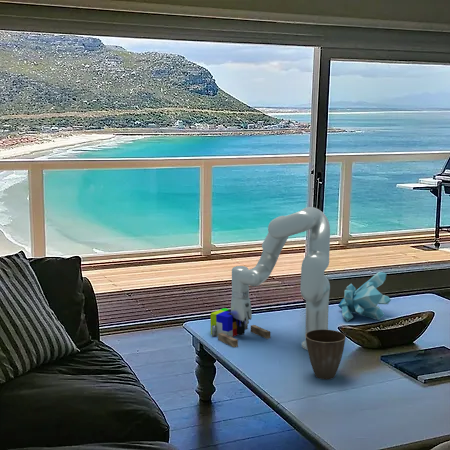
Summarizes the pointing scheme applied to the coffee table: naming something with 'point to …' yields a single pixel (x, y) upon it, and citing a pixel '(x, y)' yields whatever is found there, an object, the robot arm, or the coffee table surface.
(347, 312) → the crystal cluster
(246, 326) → the slate goal posts
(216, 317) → the puzzle toy
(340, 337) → the plant pot
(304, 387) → the coffee table surface
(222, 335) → the walnut channel
